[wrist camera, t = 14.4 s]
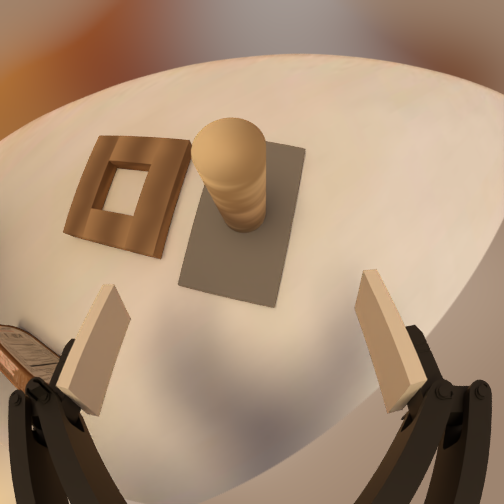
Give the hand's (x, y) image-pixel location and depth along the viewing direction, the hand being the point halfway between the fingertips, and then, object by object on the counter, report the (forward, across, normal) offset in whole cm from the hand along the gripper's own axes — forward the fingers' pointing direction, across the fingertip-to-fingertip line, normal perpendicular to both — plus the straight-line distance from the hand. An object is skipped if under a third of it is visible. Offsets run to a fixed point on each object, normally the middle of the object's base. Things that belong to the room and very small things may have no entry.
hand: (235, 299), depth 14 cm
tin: (+3, -24, -13) cm, 27 cm away
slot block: (+16, -12, 0) cm, 20 cm away
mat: (+14, 0, -2) cm, 14 cm away
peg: (+13, 0, -2) cm, 13 cm away
